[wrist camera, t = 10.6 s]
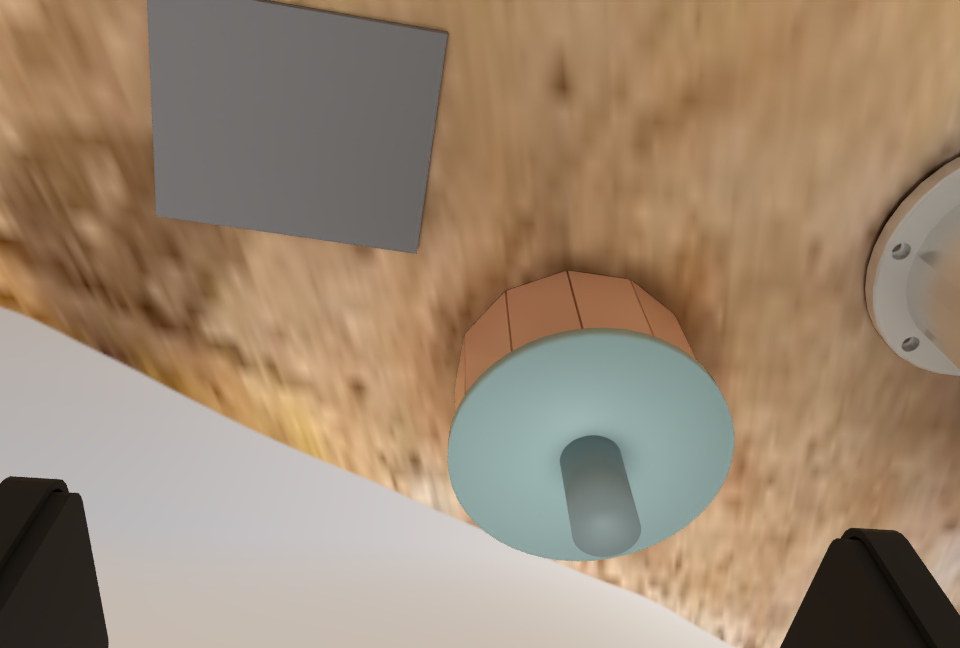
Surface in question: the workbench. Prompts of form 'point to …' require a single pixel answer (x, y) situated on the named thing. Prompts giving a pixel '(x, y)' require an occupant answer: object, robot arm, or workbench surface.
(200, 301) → the workbench surface
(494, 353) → the bowl
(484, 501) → the lid
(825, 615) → the robot arm
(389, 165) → the mat
